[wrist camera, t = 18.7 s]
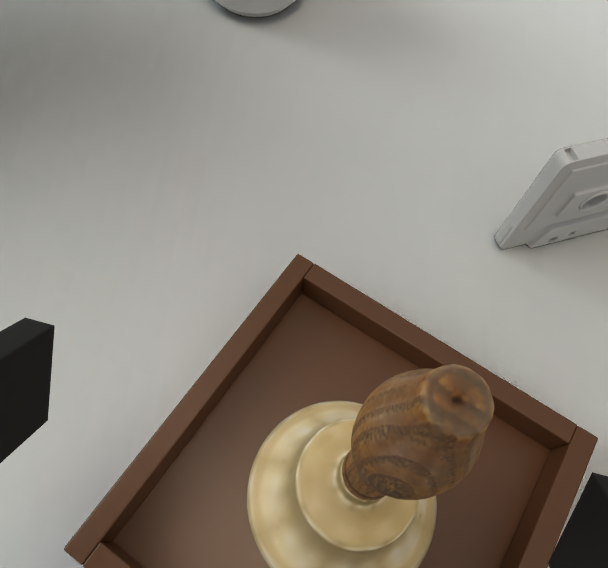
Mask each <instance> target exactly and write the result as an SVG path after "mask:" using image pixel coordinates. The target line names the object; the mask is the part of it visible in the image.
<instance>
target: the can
mask: <svg viewBox="0 0 608 568" xmlns="http://www.w3.org/2000/svg"><path fill="white" fill-rule="evenodd" d="M215 1H216V2H218V3H219V4H221V5H222V6H223V7H225V8H226V9H228V10H229V11H231V12H233V13H236V14H239V15H242V16H249V17H263V16H270V15H273V14H275V13H278V12H280V11H282V10H283V9H285V8H286V7H288V6H289V5H290V4H292V3H293V2H294V1H296V0H215Z"/></svg>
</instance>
